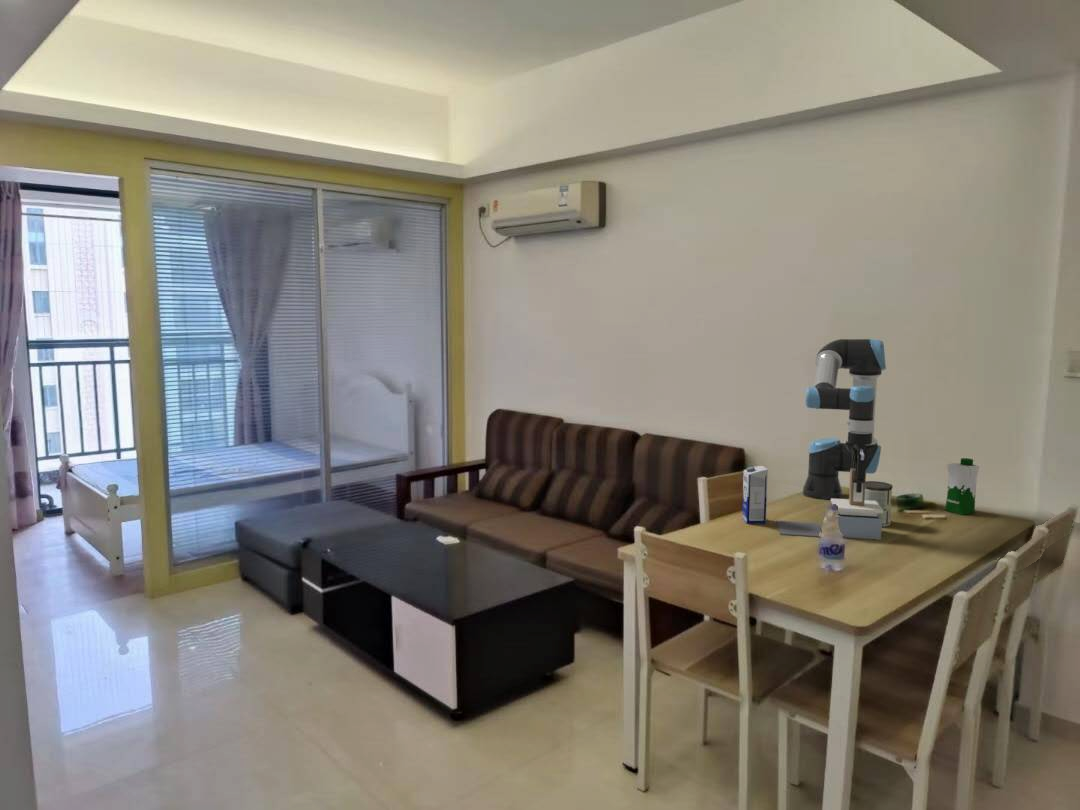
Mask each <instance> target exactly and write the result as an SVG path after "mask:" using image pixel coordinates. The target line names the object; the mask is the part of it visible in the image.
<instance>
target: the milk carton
mask: <svg viewBox="0 0 1080 810" xmlns="http://www.w3.org/2000/svg"><path fill="white" fill-rule="evenodd" d="M768 470H769V469H768V468H766V467H765V466H763V465H757V466H749V467H747V468H746V469H743V479H742V480H743V481H742V484H743V485H742V506H741V507H742V509H741V510H742V511H741V512H742V514H741V519H742V520H743V521H744V522H745V523H746V524H749V525H751V524H752V525H758V524H760V525H761V524H762V525H763V524H764V525H765V524H767V523H766V522H767V502H768V501H767V499H768V498H767V497H768V495H767V494H768V473H769V471H768Z"/></svg>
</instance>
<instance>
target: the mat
mask: <svg viewBox="0 0 1080 810" xmlns="http://www.w3.org/2000/svg"><path fill="white" fill-rule="evenodd" d="M776 524H777V528H778V532H779V535H780V536H781V535H782V536H793V537H794V536H797V537H809V538H810V537H811V538H820V537H819V533H820V529H821V526H820V524H819V523H818V522H804V521H803V522H802V521H789V520H776Z"/></svg>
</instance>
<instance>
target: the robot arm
mask: <svg viewBox="0 0 1080 810" xmlns="http://www.w3.org/2000/svg"><path fill="white" fill-rule="evenodd" d="M815 365H816V372H815V377H814V378H815V379H814V382H813V386H812V387H811V386H809V387H807V388H806V390H805V406H806V408H808V409H815V410H821V409H822V410H841V411H849V412H848V413H849V415H848V421H846V425H848V430H849V431H848V432H847V437H846V439H845V442H841V440H840V439H839V438H830V437H829V438H818V439H815V440H812V441H811V442H810V443H809V451H808V454H809V455H808V469H807V470H808V473H807V477H806V480H805V483H804V485H803V487H802V495H804V496H805V497H807V498H808V497H809V498H814V499H819V500H820V499H821V500H831V498H833V499H842V497H843V490H842V486H841V483H840V479H839V472H843V473H850V468H851V469H855V481H853V483H854V495H853V501H855V502H862V496H863V483H864V482H865V470H866V475H867V474H875V473H876V472H877V469H878V468H879V467H878V466H879V464H880V463H879V462H880V459H881V453H882V452H881V451H882V446H881V445H880V444H878V440H877V439H876V437H875V416H876V404H877V403H876V400H877V399H876V398H877V385H878V384H877V382H878V380H877V379H878V378H879V377H880V376H881V375H882V371H885V370H886V369H887V368H886V367H887V365H886V355H885V344H884V342H883V341H882V340H880V339H873V338H862V339H861V338H860V339H859V338H855V339H854V338H853V339H850V338H847V339H846V338H841V339H836V340H833V341H831V342H828V343H827V344H825V345H824V346H823V347H822V348H820V349H819V351H818V353H817V354H816V357H815ZM840 369H844V370H848V374H849V375H850V377H852V386H851V387H850V388H845V387H844V388H842V387H841V388H840V387H837V382H838V381H837V380H838V374H839V370H840Z"/></svg>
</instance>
